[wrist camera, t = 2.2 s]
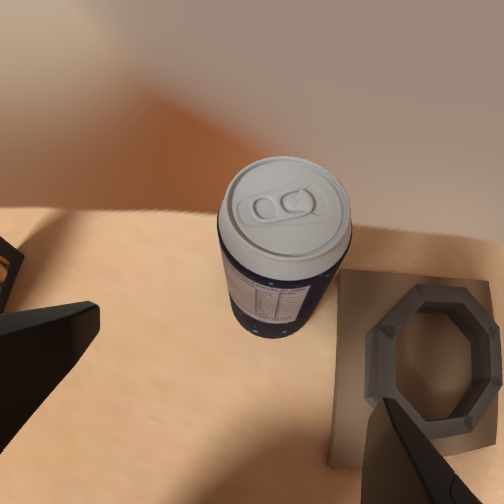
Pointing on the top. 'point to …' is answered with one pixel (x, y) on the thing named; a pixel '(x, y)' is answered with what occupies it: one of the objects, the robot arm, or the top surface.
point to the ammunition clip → (8, 270)
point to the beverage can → (281, 241)
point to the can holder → (415, 360)
